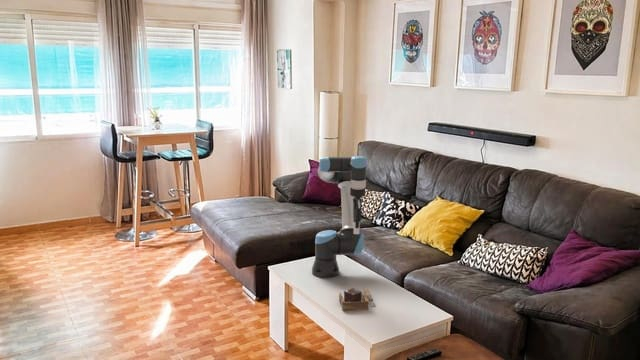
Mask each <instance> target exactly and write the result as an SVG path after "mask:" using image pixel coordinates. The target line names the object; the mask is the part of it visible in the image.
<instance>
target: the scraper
mask: <svg viewBox="0 0 640 360" xmlns="http://www.w3.org/2000/svg"><path fill="white" fill-rule="evenodd" d="M363 292H364V294H365V296H366V298H367V300H368V306H369V307H370V308H374V307H375V308H376V304H375V301H374V299H373V297H372V295H371V293H370V291H369V288H367V287H365V288H364V289H363Z"/></svg>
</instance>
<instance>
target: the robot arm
mask: <svg viewBox="0 0 640 360" xmlns="http://www.w3.org/2000/svg"><path fill="white" fill-rule="evenodd" d="M318 164H319V166H318V168H317V172H316V173H317V175H318V178H319V179H320V180H321V181H323V182H326V183H331V184H337V187H338V188H339V189H340V195H341V196H340V199H341V201H340V204H341V223H342V225H341V226H342V227H341V229H339V233H338V232H337V231H336V230H332V229H328V230H327V229H326V230H322V231H320V232H318V233H317V234H315V239H314V240H315V241H314V243H315V245H314V246H315V249H314V250H315V251H314V252H315V253H314V254H315V255H314V256H315V257H314V261H313V264H312V267H311V274H312V275H313V276H316V277H319V278H333V277H336V276H338V275H339V274H340V268H339V264H338V261H337V256H357V255H361V254H362V253H363V250H364V244H365V243H364V242H365V234H364V233H362V232H361V231H362V230H361V229H360V224H361V223H360V222H361V221H362V220H361V219H362V207H363V204H362V203H363V199H362V197H365V196H366V186H367V184H366V183H367V178H366V177H367V164H368V163H367V158H366V156H363V155H353V156H349V157H345V156H344V157H342V156H341V157H339V156H321V157H320V158H319V163H318Z"/></svg>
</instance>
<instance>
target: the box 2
mask: <svg viewBox="0 0 640 360" xmlns="http://www.w3.org/2000/svg"><path fill="white" fill-rule="evenodd" d="M361 292H362V293H361V294H362V295H361V301H352V302H345V301H344V295H343V294H342V292H338V301H339V305H340V307H341V310H342V311H343V312H344V311H345V312H346V311H368V310H369V303H368V299H367V296H366V294H365V292H364V291H361Z"/></svg>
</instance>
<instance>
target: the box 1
mask: <svg viewBox="0 0 640 360" xmlns="http://www.w3.org/2000/svg"><path fill="white" fill-rule="evenodd" d="M362 292H363V291H362V290H361V291H360V290H359V289H356V288H353V287H352V288H349V289H347V290H345V291H343V299H344V301H345V302H352V301H362V300H361V295H362V294H361V293H362Z"/></svg>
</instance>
